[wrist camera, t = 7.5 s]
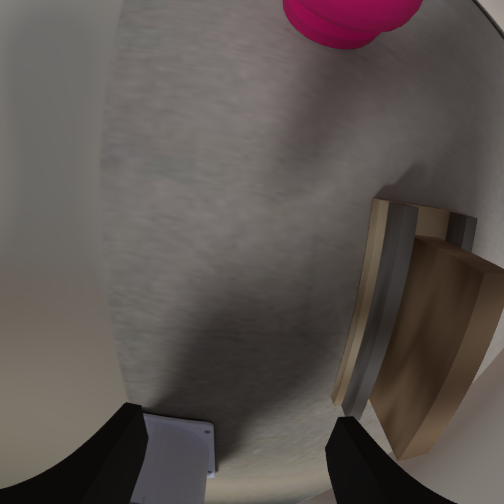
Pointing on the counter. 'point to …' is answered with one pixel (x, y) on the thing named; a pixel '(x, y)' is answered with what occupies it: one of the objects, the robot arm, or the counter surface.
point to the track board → (388, 289)
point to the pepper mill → (348, 19)
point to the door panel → (435, 343)
